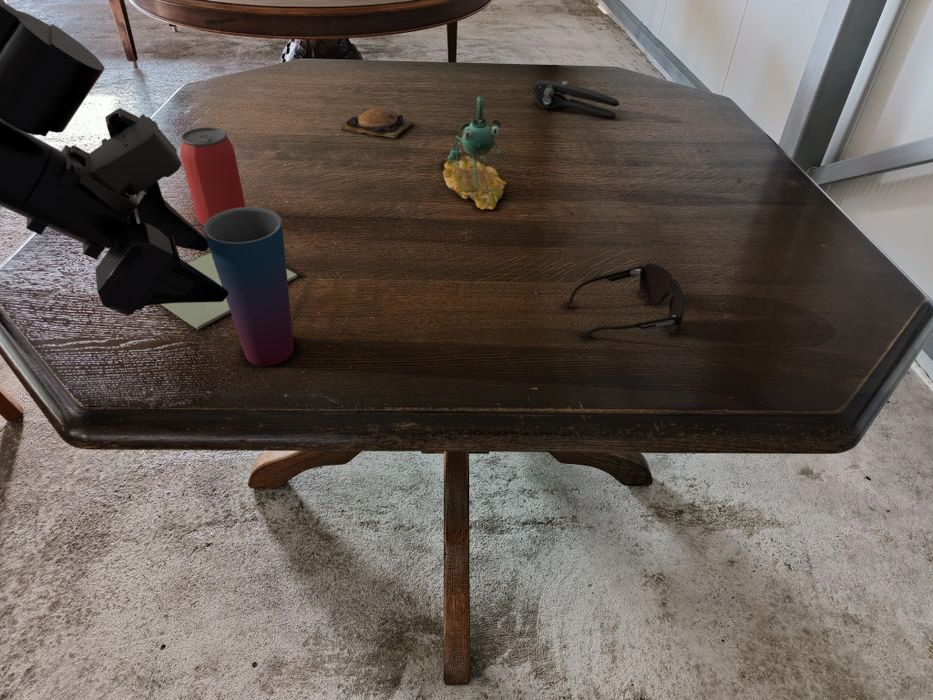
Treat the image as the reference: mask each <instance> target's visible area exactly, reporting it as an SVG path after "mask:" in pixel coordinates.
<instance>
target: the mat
mask: <svg viewBox="0 0 933 700" xmlns="http://www.w3.org/2000/svg"><path fill="white" fill-rule="evenodd" d="M187 263H188V264H189V265H191V266H192V267H194V268H195V269H197V270H198V271H200V272H201V273H203V274H204V275H206V276H208V277H209V278H211V279H212V280H214V281H215V282H217V283H218V284H219V285H221V282H220V279H219V276H218V273H217V270H216V267H215V264H214V261H213V258H212V255H211V252H209V253H207V254H205V255H203V256H200V257H198V258H196V259H194V260H192V261H189V262H187ZM286 271H287V281H288V283H289V282H291V281H292V280H294V279H296V278H298V274H297V273H295V272H293V271H291V270H290V269H288V268H286ZM221 286H222V285H221ZM160 306H162V307H164V309H167V310H168V311H170V312H171V313H172V314H174V315H175V316H177V317H178V318H180V319H181V320H182V321H184V322H186V323H187V324H188V325H190V326H192V327H193V328H195V330H197V331H199V330H200V329H203V328H204V327H206V326H208V325H210V324H212V323H213V322H216V321H217V320H219V319H221V318H223V317H225V316H227V315H229V314H231V312H230V309H229V306H228V303H227V300H226V298H225V300H224V301H223V302H194V303H168V304H160Z"/></svg>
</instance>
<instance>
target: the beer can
mask: <svg viewBox="0 0 933 700" xmlns="http://www.w3.org/2000/svg"><path fill="white" fill-rule="evenodd" d="M180 141H181V144H180V158H181V163H182V165H183V166H182V167H183V170H184V173H185V174H184V175H185V178H186V181H187V186H188V190H189V193H190V197H191V201H192V204H193V205H192V206H193V208H194V213H195V216H196V220H197V222H198V223H199V224H200V225H202V226H203V227H204V225H205V223H206V222H207V220H209V219H210V218H211V217H213V216H214V215H216V214H218V213H220V212H223V211H226V210H229V209H234V208H241V207H247V206H246V201H245V197H244V191H243V188H242V182H241V176H240V172H239V167H238V162H237V158H236V153H235V152H236V151H235V148H234V145H233V143H232V142H231V140H230V139H229V137H228V133H227V132H226V130H224V129H222V128H218V127H213V126H212V127H211V126H206V127H205V126H204V127H196V128H192V129H189V130H187V131H184V132H183V133H182V134H181V136H180Z"/></svg>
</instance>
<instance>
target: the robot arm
mask: <svg viewBox="0 0 933 700" xmlns="http://www.w3.org/2000/svg"><path fill="white" fill-rule="evenodd" d="M105 69H106V68H105V66H104V65H103V63H102V62H101V60H100V59H99V58H98V57H96V55H94V54H93V53H92V52H91V51H90V50H89V49H88V48H87V47H86V46H84V45H83V44H82V43H80V41H78V40H76V39H75V38H74V37H73V36H71V35H70V34H68V33H67V32H66V31H64V30H62V29H61V28H59V27H58V26H56V25H55V24H50V25H49V24H48V23H46V22H44V21H43V20H41V19H39V18H37V17H36V16H33V15H32V14H29V13H27V12H24V11H21V10H17V9H16V8H14V7H13V6H11V5H10V4H8V3H7V2H5V1H4V0H0V207H1V208H4V209H6V210H9V211H10V212H11V211H12V212H13V213H15V214H18V215H20V216H22V217H24V218H26V227H25V228H26V230H28V231H31V232H33V233H35V234H37V235H42V234H43V233H44V231H45V230H46V229H47V228H48V229H50V230H53V231H55V232H57V233H59V234H61V235H64V236H66V237H68V238H70V239H73V240H74V241H77V242H79V243H81V244H82V253H83V255H85V256H87V257H89V258H92V259H94V260H98V258H99V257H100V256H101V254H102V253H103V252H104V250H105V249H108V250H107V252H106V254H105V255H104V256H103V257H102V259H101V261H100V262H99V263H98V265H97V266H96V267H95V271H94V272H95V280H96V291H97V292H96V293H97V294H98V297H99V300H100V302H101V304H102V307H104V308H107V309H110V310H112V311H114V312H117V313H120V314H122V315H124V316H127V317H129V316H132V315H134V313H136V311H142V310H143V309H144V308H145V307H146V306H157V305H161V304H168V303H194V302H223V301H224V300H225V298H226V297H227V296H228V294H229V293H228V291H227V290H226V289H225V288H223V287H222V286H221V285H219V284H218V283H217V282H215V281H214V280H212V279H211V278H209V277H208V276H206V275H204V274H203V273H201V272H200V271H198V270H197V269H195V268H194V267H192V266H191V265H189V264H188V263H189V262H186V261H185V260H183V259H182V258H181V257H180V254H179V250H178V248H183V249H188V250H191V251H192V250H193V251H199V252H206V251H207V250H208V249H209V246H208V243H207V240H206V237H205V235H204V234H202V232H200V231H199V230H198V229H197V228H196V227H195V226H194V225H193V224H191V223H190V222H189V221H188V220H187V219H186V218H185V217H184V216H183V215H181V214H180V213H179V212H178V211H177V210H176V209H175V208H174V207H173V206H172V205H171V204H169V203H168V201H166V200H165V199H164V197H163V194H162V190H161V187H160V184H159V181H160V180H162V179H163V178H170V177H171V176H173V175H174V174H176V173H177V172H178V171H179V170H180V168H181V166H182V160H181V159H180V158H179V155H178V150H177V148H176V147H175V146H174V145H173V143H172V142H171V141H170V140H169V139H168V137H167V136H166V135H165V133H163V132H162V130H161V129H160V128H159V126H158V123H157V122H156V121H154V120H152V118H151V117H150V116H146V115H145V113H143V114H140V115H139V116H137V115H135V114H133V113H131V112H129V111H128V110H125V109H123V108H121V107H119V108H117V109H115V110H113V111H112V112H110V113H109V114H107V115H106V116H105V122H106V123H105V124H106V129H107V131H108V134H109V138H108V139H107V138H105V137H104V138H103V139H101V145H99V146H98V147H97V148H95V149H94V150H92V151H91V152H88V151H85V150H84V149H82V148H80V147H78V146H76V145H74V144H73V145H71V146H70V145H67V144H65V145H64V147H63V148H62V150H60V149H58V148H56V147H54V146H52V145H50V144H48V143H47V142H45V141H43V140H41V139H39V138H38V137H36V136H41V137H46V136H47V135H48V133H49V132H50V133H57V134H59V133H63V132H64V131H65V130H66V128H67V127H68V125H69V123H70V122H71V121H72V119H73V118H74V116H75V114H76V113H77V111H78V110H79V108H80V107H81V105H82V104H83V102H84V101H85V100H86V98H87V96H88V95H89V94H90V92H91V91H92V90H93V87H94V86H95V84H96V83H97V82H98V80H99V79H100V77H101V76H102V74H103V73H104V71H105Z"/></svg>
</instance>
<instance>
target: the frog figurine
mask: <svg viewBox="0 0 933 700" xmlns="http://www.w3.org/2000/svg"><path fill="white" fill-rule="evenodd" d="M491 125H492V126H489V125H488V120H487V119H486V117H484V98H483V97H482V96H481V95H480V96H477V97H476V115H475V119H474V118H473V117H471V118H470V123H469V122H465V123H463V124H462V125H461V126H460V128H459V132H460V133H461V132H462V135H461V138H460V137H459V136H458V135H455V136H454V141H453V145H452V148H451V149H450V150H449V153H448V155H447V156H446V157H447V159H446V162H445V163H444V164H443V166H444V170H443V172H442V174H443V179H444V181H445V184H446V186H447V188H448V189H450V190H451V191H455V193H457V194H458V196H460V197H461V198H462V199H465V200H467V199H469V198H470V199H472V201H474V202H475V205H476V207H477V208H479V209H480V210H482V211H483V210H494V209H495V208H496V206H497V203H498V201H499V200H500V199H502V196H503V194H504V189H505V186H506V185H507V181H504V180H503V179H502V178H500V177H499V173H498V171H497V170H496V169H495V168H494V167H492V166H486V165H485V164H484V163H486V161H487V157H486V155H487V154H489V153H490V152H491V150H493V149H492V148H494V147H496V149H497V154H498V156H501V157H502V159H503V162H506V160H507V159H506V156H505V155H503V153H502V151H501V150H500V148H499V147H498V145H497V143H496V142H495V137H497V136H498V135H499V134H500V127H502V123H501V122H500V120H498V119H493V120H491ZM457 139H458V140H459V143H458V141H457ZM461 144H462V148H458V147H459V146H460V145H461ZM463 149H464V151H465V153H466V154H468V155H463V156H462V153H463ZM477 157H480V160H482V159H483V160H484V163H481V162H480V160H477Z"/></svg>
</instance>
